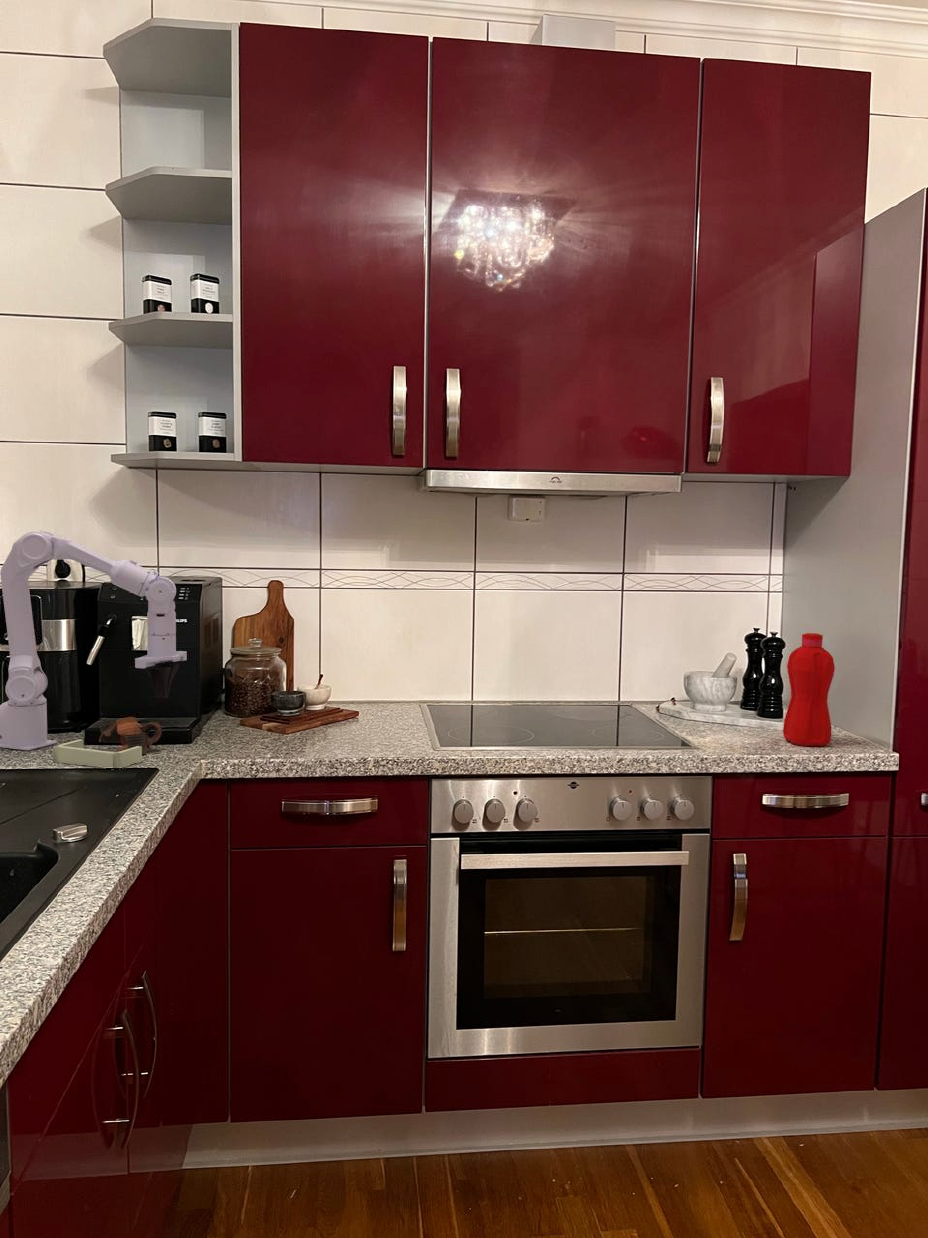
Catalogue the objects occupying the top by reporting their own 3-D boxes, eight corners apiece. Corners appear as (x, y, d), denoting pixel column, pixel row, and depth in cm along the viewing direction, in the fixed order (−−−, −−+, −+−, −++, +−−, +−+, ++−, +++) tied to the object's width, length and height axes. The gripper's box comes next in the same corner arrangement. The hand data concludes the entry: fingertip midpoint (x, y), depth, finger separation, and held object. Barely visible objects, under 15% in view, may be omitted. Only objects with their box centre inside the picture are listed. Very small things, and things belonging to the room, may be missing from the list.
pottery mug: (105, 763, 182) (93, 724, 184) (109, 773, 190) (97, 736, 192) (167, 743, 186) (155, 705, 188) (168, 754, 195) (156, 718, 197)
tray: (53, 761, 180) (53, 746, 179) (79, 754, 186) (79, 739, 186) (117, 770, 175) (117, 754, 174) (141, 761, 181) (141, 746, 181)
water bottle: (813, 737, 219) (819, 630, 216) (835, 747, 208) (842, 635, 205) (775, 736, 218) (780, 630, 216) (795, 747, 207) (801, 635, 205)
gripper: (155, 638, 189) (155, 705, 190) (198, 632, 202) (198, 694, 203) (126, 636, 191) (127, 702, 192) (171, 630, 204) (171, 691, 206)
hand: (162, 698), depth 198 cm, fingers closed
